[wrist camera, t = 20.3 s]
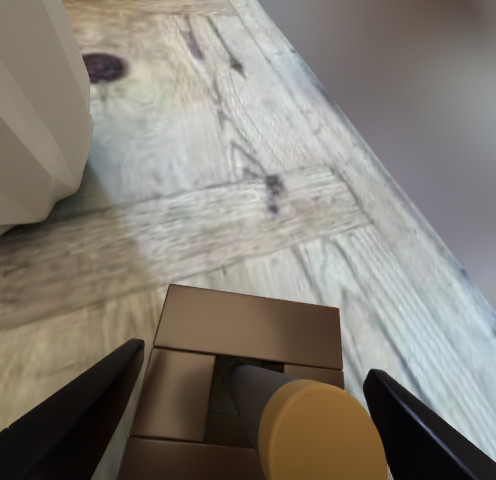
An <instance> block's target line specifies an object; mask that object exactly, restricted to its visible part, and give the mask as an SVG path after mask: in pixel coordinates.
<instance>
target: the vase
mask: <svg viewBox="0 0 496 480" xmlns="http://www.w3.org/2000/svg"><path fill="white" fill-rule="evenodd" d="M93 127H94V124H93V121H92V117H91V115H90V80H89V76H88V73H87V70H86V67H85V64H84V61H83V58H82V56H81V53H80V50H79V47H78V44H77V41H76V39H75V36H74V33H73V30H72V27H71V25H70V22H69V19H68V16H67V13H66V10H65V8H64V5H63V2H62V0H0V236H1V235H2V234H4V233H5V232H7V231H8V230H10V229H11V228H13V227H14V226H16V225H19V224H29V223H37V222H42V221H44V220H45V219H46V218H47V217H48V216H49V214H50V212H51V210H52V208H53V207H54V205H55V203H56V202H58V201H60V200H62V199H65V198H67V197H69V196H71V195H73V194H75V193H76V192H77V191H78V189H79V186H80V184H81V180H82V176H83V171H84V167H85V165H86V163H87V161H88V158H89V154H90V149H91V143H92V136H93Z"/></svg>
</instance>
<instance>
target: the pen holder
mask: <svg viewBox="0 0 496 480" xmlns="http://www.w3.org/2000/svg"><path fill="white" fill-rule="evenodd" d="M216 355H222V356H230V357H239V358H247V359H255V360H263V361H262V368H264V369H268V370H271V371H275V372H279V373H282V374H286V375H290V376H294V377H297V378H301V379H308V380H314V381H318V382H322V383H325V384H329V385H333V386H336V387H338V388H340V389H342V390H344V377H343V371H341V370H343V361H342V346H341V331H340V315H339V308H336V307H329V306H322V305H315V304H308V303H301V302H294V301H287V300H280V299H273V298H266V297H259V296H252V295H246V294H239V293H232V292H225V291H218V290H211V289H204V288H197V287H190V286H183V285H176V284H170V285H169V287H168V291H167V294H166V298H165V302H164V305H163V309H162V313H161V316H160V320H159V324H158V327H157V331H156V335H155V338H154V342H153V348H152V350H151V353H150V357H149V361H148V364H147V368H146V372H145V375H144V379H143V383H142V386H141V390H140V394H139V397H138V401H137V405H136V408H135V412H134V416H133V419H132V423H131V427H130V431H129V436H128V438H127V441H126V445H125V449H124V452H123V456H122V460H121V463H120V467H119V471H118V474H117V478H116V480H267V479H266V477H265V475H264V472H263V469H262V466H261V462H260V460H259V458H258V456H257V453H256V451H255V449H254V447H253V445H252V442H251V440H250V438H249V436H248V433H247V431H246V429H245V427H244V424H243V422H242V420H241V418H240V416H238V415H228V414H218V413H209V412H208V410H209V403H210V397H211V390H212V384H213V377H214V371H215V364H216V358H217V357H216Z"/></svg>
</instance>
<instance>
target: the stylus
mask: <svg viewBox="0 0 496 480" xmlns="http://www.w3.org/2000/svg"><path fill="white" fill-rule="evenodd" d="M224 380H225V384H226V387H227V389H228V391H229V393H230V396H231V398H232V400H233V402H234V404H235V407H236V409H237V411H238V413H239V416H240V418H241V420H242V422H243V424H244V427H245V429H246V431H247V433H248V436H249V438H250V440H251V442H252V445H253V447H254V449H255V451H256V453H257V456H258V458H259V460H260V462H261V466H262V469H263V472H264V475H265V477H266V479H267V480H387V464H386V457H385V452H384V448H383V444H382V441H381V438H380V436H379V433H378V431H377V428H376V427H375V425H374V423H373V421H372V419H371V418H370V416H369V415H368V413H367V411H366V410H365V409H364V408H363V406H362V405H361V404H360V403H359V402H358V401H357V400H356V399H355V398H354V397H353V396H351V395H350V394H349V393H347V392H346V391H344V390H342V389H340V388H338V387H336V386H333V385H329V384H325V383H322V382H318V381H314V380H308V379H301V378H297V377H294V376H290V375H286V374H282V373H279V372H275V371H271V370H268V369H264V368H260V367H256V366H253V365H249V364H245V363H241V362H235V363H233V364H231V365H230V366H229V367H228V368H227V370H226V372H225V377H224Z"/></svg>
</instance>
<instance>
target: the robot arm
mask: <svg viewBox="0 0 496 480" xmlns="http://www.w3.org/2000/svg"><path fill="white" fill-rule="evenodd" d="M144 346H145V342H144V340H142V339H135V338H133V339H130V340H129V341H127V342H126V343H125V344H123V345H122V346H120V347H119V348H118V349H116V350H115V351H113V352H112V353H110V354H109V355H108V356H106V357H105V358H103V359H102V360H101V361H99V362H98V363H96V364H95V365H94V366H92V367H91V368H89V369H88V370H87V371H85V372H84V373H82V374H81V375H80V376H78V377H77V378H75V379H74V380H73V381H71V382H70V383H68V384H67V385H66V386H64V387H63V388H61V389H60V390H59V391H57V392H56V393H54V394H53V395H52V396H50V397H49V398H47V399H46V400H44V401H43V402H42V403H40V404H39V405H37V406H36V407H35V408H33V409H32V410H30V411H29V412H28V413H26V414H25V415H23V416H22V417H21V418H19V419H18V420H16V421H15V422H14V423H12V424H11V425H10V426H9V428H5V429H4V430H2V431H1V432H0V480H91V478H92V476H93V474H94V472H95V470H96V468H97V466H98V464H99V462H100V460H101V458H102V456H103V454H104V452H105V450H106V448H107V446H108V444H109V442H110V440H111V438H112V436H113V434H114V432H115V430H116V428H117V426H118V424H119V422H120V420H121V418H122V415H123V413H124V411H125V408H126V406H127V403H128V401H129V398H130V396H131V393H132V390H133V388H134V385H135V383H136V380H137V377H138V375H139V372H140V370H141V367H142V364H143V361H144ZM363 392H364V396H365V399H366V402H367V405H368V409H369V412H370V415H371V418H372V421H373V423H374V425H375V427H376V428H377V431H378V433H379V436H380V438H381V441H382V444H383V448H384V452H385V457H386V461H387V463H388V466H389V468H390V471H391V473H392V476H393V478H394V480H496V462H494V461H493V460H492V459H491V458H490V457H488V456H487V455H486V454H485V453H483V452H482V451H481V450H480V449H479V448H477V447H476V446H475V445H474V444H472V443H471V442H470V441H469V440H468V439H466V438H465V437H464V436H463V435H461V434H460V433H459V432H458V431H457V430H455V429H454V428H453V427H452V426H450V425H449V424H448V423H447V422H446V421H444V420H443V419H442V418H441V417H439V416H438V415H437V414H436V413H435V412H433V411H432V410H431V409H430V408H429V407H427V406H426V405H425V404H424V403H422V402H421V401H420V400H419V399H418V398H416V397H415V396H414V395H413V394H411V393H410V392H409V391H408V390H407V389H405V388H404V387H403V386H402V385H400V384H399V383H398V382H397V381H396V380H394V379H393V378H392V377H391V376H389V375H388V374H387V373H386V372H385V371H383V370H379V369H371V370H370V371H369V372H368V375H367V377H366V379H365V381H364V384H363Z"/></svg>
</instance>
